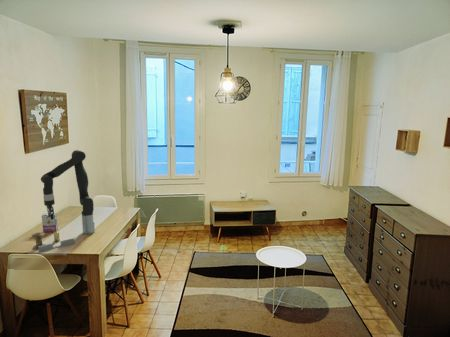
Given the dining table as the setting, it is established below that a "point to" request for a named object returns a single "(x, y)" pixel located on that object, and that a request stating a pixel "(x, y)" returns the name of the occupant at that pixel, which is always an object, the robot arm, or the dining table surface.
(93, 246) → the dining table surface
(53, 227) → the candy bar box
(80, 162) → the robot arm
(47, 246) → the notch board
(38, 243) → the bobbin
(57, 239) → the tab
